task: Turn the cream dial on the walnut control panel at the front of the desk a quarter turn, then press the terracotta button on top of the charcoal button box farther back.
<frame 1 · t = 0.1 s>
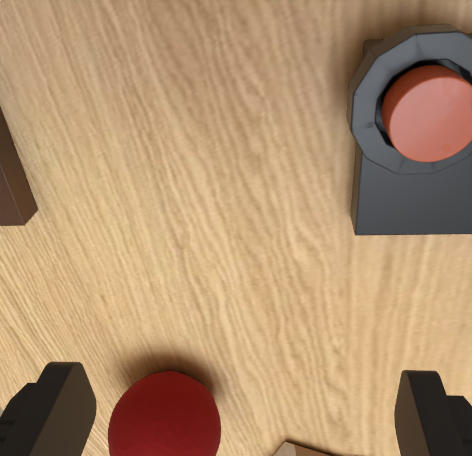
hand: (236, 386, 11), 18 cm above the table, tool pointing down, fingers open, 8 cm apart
button box: (453, 135, 26), on the table
button: (429, 114, 21), point 5 cm above the table, slide at 0.1 cm
apple: (176, 384, 41), on the table
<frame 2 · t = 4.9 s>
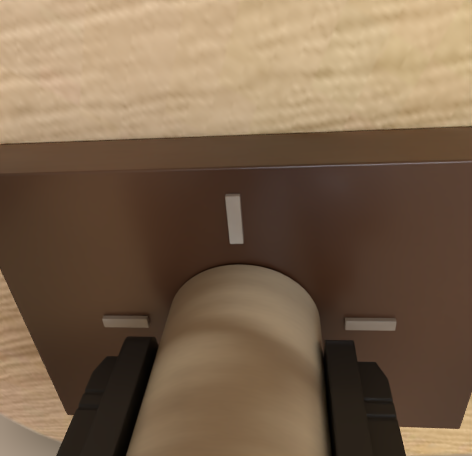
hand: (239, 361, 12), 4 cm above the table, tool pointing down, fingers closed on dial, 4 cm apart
dial panel: (248, 277, 15), on the table
dial: (235, 409, 11), point 5 cm above the table, hinge at 0.0°, touching gripper
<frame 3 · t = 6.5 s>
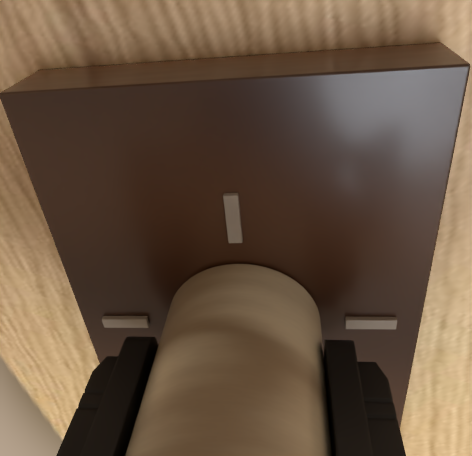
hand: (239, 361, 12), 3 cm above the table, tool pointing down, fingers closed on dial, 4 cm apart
dial panel: (248, 276, 15), on the table
dial: (235, 409, 11), point 5 cm above the table, hinge at 91.1°, touching gripper
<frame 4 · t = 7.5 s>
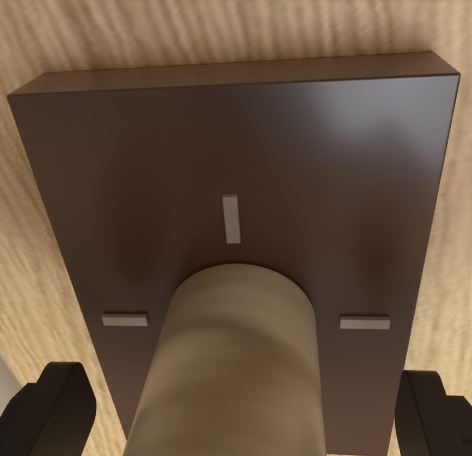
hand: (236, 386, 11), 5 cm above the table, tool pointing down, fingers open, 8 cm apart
dial panel: (246, 277, 15), on the table
dial: (231, 404, 11), point 5 cm above the table, hinge at 90.8°
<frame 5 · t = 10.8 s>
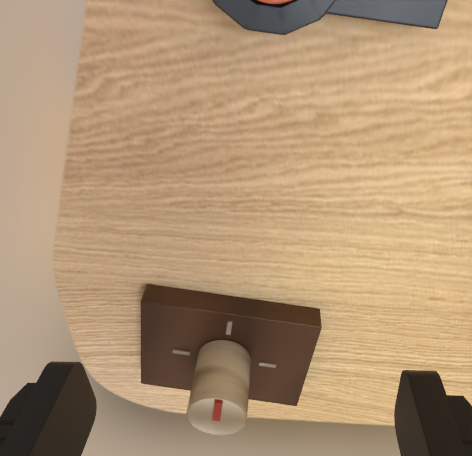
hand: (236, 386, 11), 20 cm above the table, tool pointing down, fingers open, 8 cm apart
dial panel: (226, 339, 39), on the table
dial: (220, 387, 35), point 5 cm above the table, hinge at 90.8°
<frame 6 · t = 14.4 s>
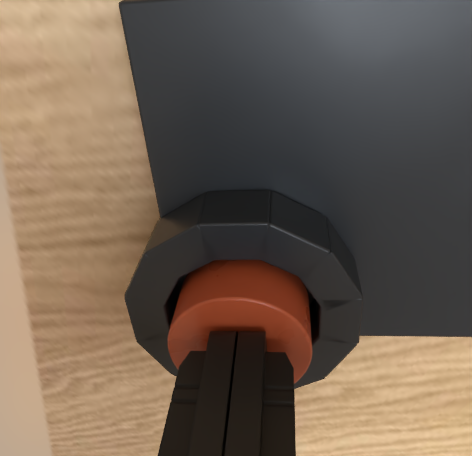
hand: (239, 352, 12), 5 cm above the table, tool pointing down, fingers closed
button box: (336, 167, 15), on the table
button: (241, 325, 13), point 4 cm above the table, slide at -0.4 cm, touching gripper
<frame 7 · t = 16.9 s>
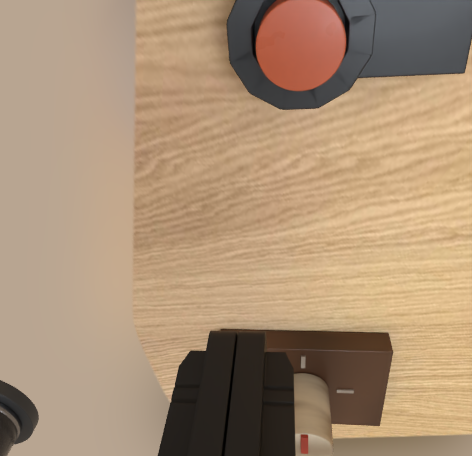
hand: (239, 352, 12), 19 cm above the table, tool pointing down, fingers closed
dial panel: (302, 369, 41), on the table
dial: (303, 419, 37), point 5 cm above the table, hinge at 90.8°
button: (299, 41, 21), point 5 cm above the table, slide at 0.1 cm
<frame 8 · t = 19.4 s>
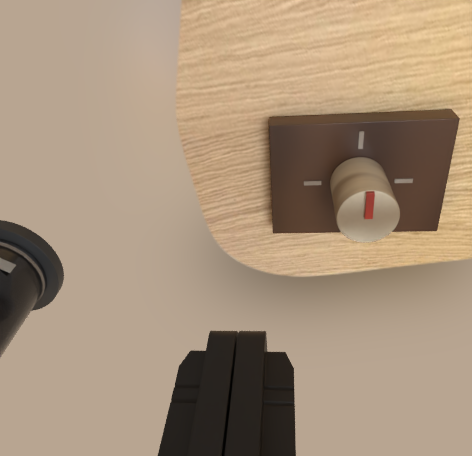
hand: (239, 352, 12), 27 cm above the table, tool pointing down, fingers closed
dial panel: (354, 170, 38), on the table
dial: (362, 199, 34), point 5 cm above the table, hinge at 90.8°
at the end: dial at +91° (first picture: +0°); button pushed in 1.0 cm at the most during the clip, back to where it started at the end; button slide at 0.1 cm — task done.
